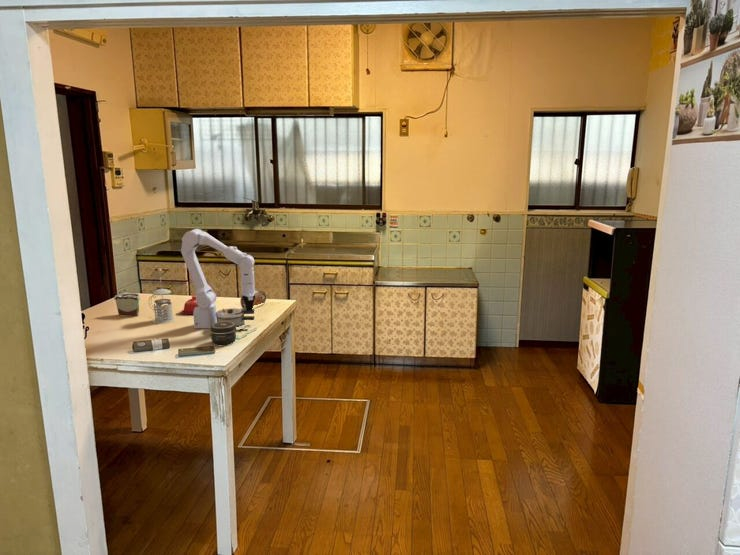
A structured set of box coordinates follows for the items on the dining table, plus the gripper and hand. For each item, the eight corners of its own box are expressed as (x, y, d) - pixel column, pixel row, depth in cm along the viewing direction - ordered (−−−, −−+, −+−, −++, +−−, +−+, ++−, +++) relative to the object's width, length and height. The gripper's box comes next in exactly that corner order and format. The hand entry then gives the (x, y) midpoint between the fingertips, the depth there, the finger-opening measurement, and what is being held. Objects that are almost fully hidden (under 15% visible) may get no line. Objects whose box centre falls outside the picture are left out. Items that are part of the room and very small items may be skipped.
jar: (214, 338, 216) (213, 321, 214) (238, 337, 217) (237, 320, 215) (208, 346, 206) (207, 328, 204) (234, 346, 207) (232, 328, 205)
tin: (243, 311, 255) (242, 295, 253) (239, 310, 257) (238, 294, 255) (266, 304, 266) (266, 289, 265) (262, 303, 268) (262, 288, 266)
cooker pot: (213, 332, 223) (212, 319, 222) (221, 323, 235) (220, 311, 234) (251, 332, 224) (250, 319, 222) (257, 323, 235) (256, 311, 234)
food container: (146, 312, 252) (144, 293, 250) (140, 316, 246) (138, 296, 244) (123, 312, 253) (121, 292, 251) (116, 315, 247) (113, 295, 245)
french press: (167, 324, 234) (162, 271, 228) (145, 322, 236) (139, 270, 231) (179, 318, 243) (175, 266, 238) (157, 316, 246) (152, 265, 240)
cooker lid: (213, 319, 221) (213, 314, 220) (217, 311, 233) (217, 306, 233) (253, 317, 223) (252, 312, 223) (255, 309, 235) (255, 305, 235)
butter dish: (201, 316, 248) (200, 299, 246) (179, 315, 249) (177, 298, 247) (211, 309, 259) (209, 293, 257) (189, 308, 260) (187, 292, 258)
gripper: (259, 285, 222) (260, 315, 226) (254, 278, 236) (256, 306, 239) (242, 286, 220) (244, 316, 223) (239, 279, 233) (240, 308, 236)
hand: (249, 311), depth 231 cm, fingers closed
